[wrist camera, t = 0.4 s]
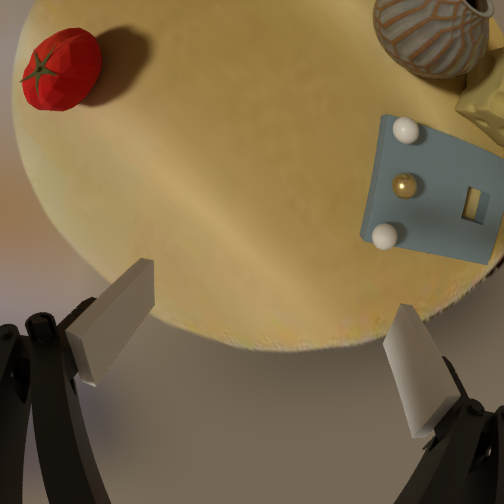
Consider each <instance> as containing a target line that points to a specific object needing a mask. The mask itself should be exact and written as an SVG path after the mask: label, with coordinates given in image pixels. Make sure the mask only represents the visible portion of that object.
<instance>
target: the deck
mask: <svg viewBox="0 0 504 504" xmlns="http://www.w3.org/2000/svg"><path fill="white" fill-rule="evenodd" d="M397 119H398V117H395V116H392V115H388V114H387V115H382V116H381V122H380V130H379V137H378V143H377V150H376V156H375V162H374V168H373V173H372V179H371V184H370V189H369V194H368V199H367V204H366V209H365V213H364V218H363V222H362V226H361V231H360V236H361V237H362V239H363V241H366V242H372V243H373V240H372V233H373V230H374V229H375V227H376V226H378V225H379V224H383V223H387V224H390V225H391V226H393V227H394V228H395V230H396V232H397V242H396V244H395V245H394V247H399V248H405V249H410V250H415V251H420V252H426V253H431V254H436V255H441V256H446V257H451V258H455V259H460V260H465V261H470V262H475V263H479V264H484V265H487V264H488V262H489V259H490V256H491V253H492V250H493V247H494V244H495V240H496V237H497V234H498V230H499V227H500V223H501V219H502V216H503V212H504V159H503V158H501V157H499V156H496V155H494V154H492V153H490V152H488V151H486V150H484V149H482V148H479V147H477V146H475V145H473V144H470V143H468V142H466V141H463V140H461V139H458V138H456V137H453V136H451V135H448V134H446V133H443V132H440V131H438V130H435V129H432V128H429V127H426V126H424V125H421V124H418V123H416V124H417V125H418V128H419V136H418V138H417V140H416V141H415V142H413V143H411V144H404V143H401V142H400V141H398V140H397V139H396V137H395V136H394V134H393V124H394V122H395V121H396V120H397ZM402 172H405V173H409V174H410V175H412V176H413V177H414V179H415V180H416V183H417V191H416V193H415V195H414V196H413V197H412V198H410V199H407V200H403V199H400V198H398V197H397V196H395V194H394V193H393V191H392V188H391V183H392V180H393V178H394V176H395V175H397V174H398V173H402ZM468 187H472V188H475V189H478V190H480V191H481V195H480V200H479V204H478V208H477V212H476V216H475V220H472V219H469V218H466V217H462V213H463V209H464V205H465V200H466V196H467V191H468Z"/></svg>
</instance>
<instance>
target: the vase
mask: <svg viewBox="0 0 504 504" xmlns="http://www.w3.org/2000/svg"><path fill="white" fill-rule="evenodd" d="M493 14H494V6H493V3H492V1H491V0H376V1H375V5H374V8H373V25H374V29H375V33H376V36H377V38H378V40H379V42H380V44H381V46H382V47H383V49H384V50H385V51H386V53H387V54H388V55H389V56H390V57H391V58H392V59H393V60H394V61H395V62H396V63H397V64H399V65H400V66H401V67H403V68H405V69H406V70H408V71H410V72H412V73H414V74H416V75H419V76H422V77H426V78H431V79H449V78H454V77H458V76H460V75H463V74H465V73H467V72H469V71H470V70H472V69H473V68H474V67H475V66H477V64H478V63H479V62H480V61H481V59H482V58H483V56H484V54H485V52H486V49H487V46H488V42H489V18H490V17H492V16H493Z"/></svg>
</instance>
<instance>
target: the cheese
mask: <svg viewBox="0 0 504 504" xmlns="http://www.w3.org/2000/svg"><path fill="white" fill-rule="evenodd" d="M466 82H467V86H466V88H465V89H464V90H463V91H462V92H461V95H460V98H459V101H458V103H457V105H456V108H455V110H456V111H457V112H458V113H459V114H461V115H462V116H464V117H465V118H467V119H468V120H470V121H471V122H473V123H474V124H475V125H476V126H477V127H479V128H480V129H481V130H482V131H483V132H485V133H486V134H487V135H488V136H489V137H490V138H491V139H492V140H493V141H495V142H496V143H497V144H498V145H501V146H503V147H504V47H503V48H499V49H495V50H492V51H489V52H485V54H484V56H483V58H482V59H481V61H480V62H479V63H478V64H477V66H475V67H474V68H473V69H472V70H470V71H469V72H467V75H466Z"/></svg>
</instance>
